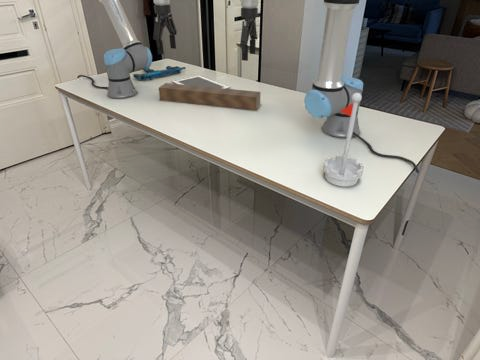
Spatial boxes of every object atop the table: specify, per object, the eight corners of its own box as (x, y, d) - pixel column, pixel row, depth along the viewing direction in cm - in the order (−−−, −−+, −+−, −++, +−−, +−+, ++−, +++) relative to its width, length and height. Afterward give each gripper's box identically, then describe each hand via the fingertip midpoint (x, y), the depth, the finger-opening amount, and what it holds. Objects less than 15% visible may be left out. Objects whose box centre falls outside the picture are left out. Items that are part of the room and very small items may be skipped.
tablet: (172, 82, 209) (172, 81, 209) (199, 75, 220) (199, 75, 220) (202, 95, 189) (202, 94, 188) (230, 87, 200) (230, 87, 200)
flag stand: (345, 165, 124) (361, 84, 108) (368, 183, 114) (390, 97, 98) (314, 171, 121) (326, 88, 104) (336, 191, 110) (352, 103, 94)
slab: (260, 104, 177) (260, 91, 173) (256, 110, 170) (256, 97, 166) (167, 95, 190) (165, 82, 186) (160, 100, 183) (158, 87, 179)
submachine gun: (171, 61, 241) (190, 66, 224) (171, 66, 243) (190, 72, 226) (125, 69, 222) (142, 76, 205) (126, 75, 224) (143, 82, 207)
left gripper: (167, 1, 171) (171, 45, 182) (141, 7, 151) (148, 56, 162) (180, 1, 169) (184, 46, 181) (156, 7, 149) (162, 57, 161)
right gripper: (248, 3, 160) (248, 50, 172) (232, 10, 140) (233, 62, 152) (264, 4, 159) (262, 51, 170) (250, 10, 139) (249, 64, 150)
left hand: (167, 51), depth 171 cm, fingers open, 13 cm apart
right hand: (248, 57), depth 161 cm, fingers open, 13 cm apart
